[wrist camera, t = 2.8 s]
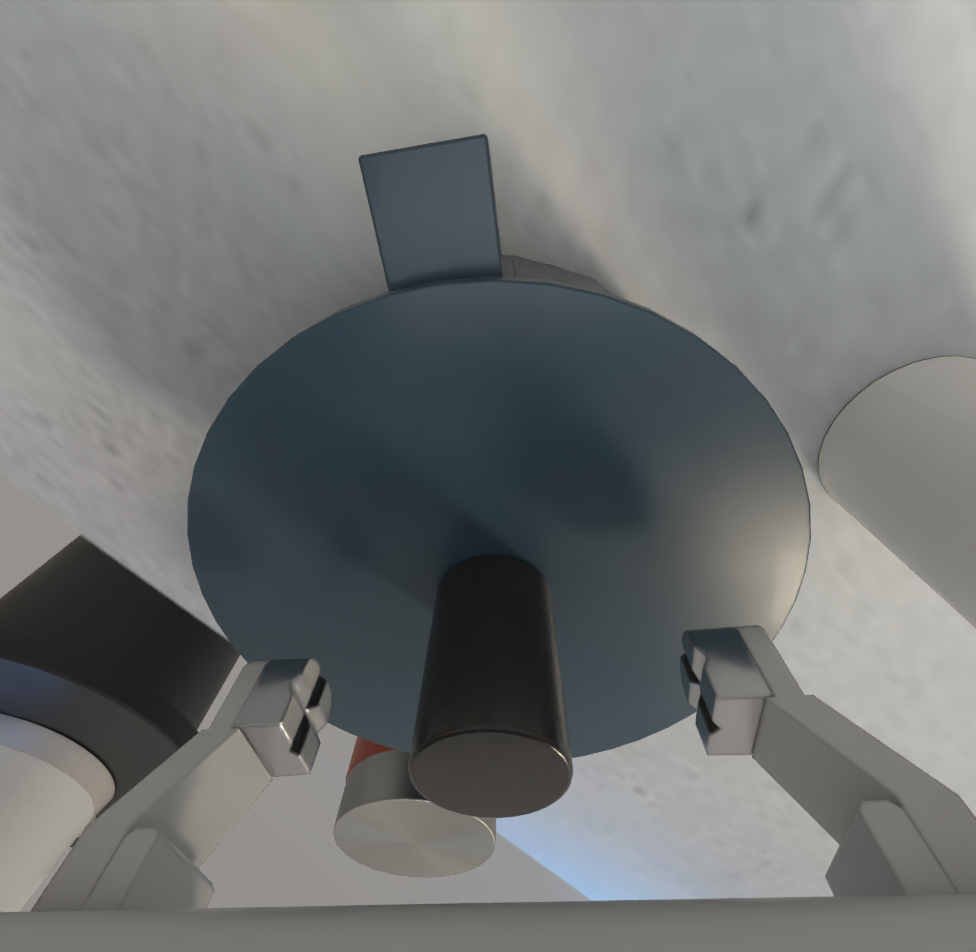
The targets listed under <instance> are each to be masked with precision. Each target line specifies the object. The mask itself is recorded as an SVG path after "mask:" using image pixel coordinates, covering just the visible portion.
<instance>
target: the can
mask: <svg viewBox="0 0 976 952" xmlns="http://www.w3.org/2000/svg"><path fill="white" fill-rule="evenodd" d="M409 756H410V753H407V752H404V751H400V750H397V749H393V748H390V747H386V746H383V745H380V744H377V743H374V742H371V741H369V740H366V739H364V738H361V737H358V736H357V740H356V743H355V747H354V751H353V754H352V758H351V762H350V765H349V769H348V773H347V776H346V785H345V788H344V793H343V796H342V800H341V804H340V807H339V811H338V814H337V819H336V822H335V826H334V838H335V841H336V843H337V845H338V846H339V847H340V849H341V850H342V851H343V852H344V853H345V854H346V855H348V856H349V857H350V858H352V859H353V860H355V861H357V862H359V863H361V864H363V865H365V866H367V867H370V868H372V869H375V870H378V871H382V872H386V873H390V874H395V875H401V876H408V877H442V876H449V875H455V874H459V873H463V872H466V871H469V870H472V869H474V868H476V867H478V866H480V865H481V864H483V863H484V862H486V860H488V859H489V858H490V856H491V855H492V854H493V852H494V849H495V844H496V818H484V817H474V816H468V815H463V814H459V813H455V812H452V811H449V810H446V809H444V808H441V807H439V806H437V805H435V804H433V803H432V802H430V801H428V800H427V799H426V798H424V797H423V796H422V795H421V794H420V793H419V792H418V791H417V790H416V789H415V787H414V786H413V784H412V782H411V779H410V776H409V772H408V762H409Z"/></svg>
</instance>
